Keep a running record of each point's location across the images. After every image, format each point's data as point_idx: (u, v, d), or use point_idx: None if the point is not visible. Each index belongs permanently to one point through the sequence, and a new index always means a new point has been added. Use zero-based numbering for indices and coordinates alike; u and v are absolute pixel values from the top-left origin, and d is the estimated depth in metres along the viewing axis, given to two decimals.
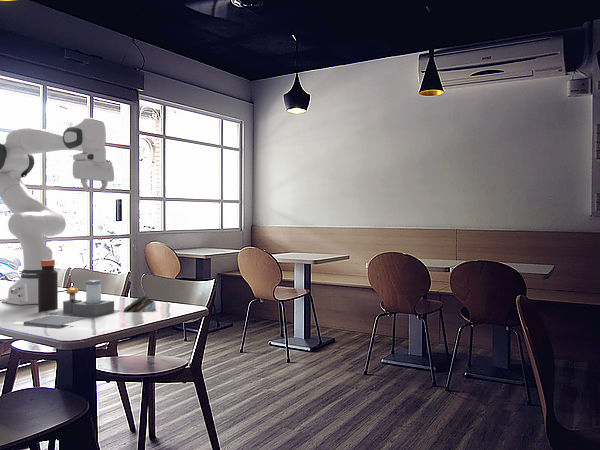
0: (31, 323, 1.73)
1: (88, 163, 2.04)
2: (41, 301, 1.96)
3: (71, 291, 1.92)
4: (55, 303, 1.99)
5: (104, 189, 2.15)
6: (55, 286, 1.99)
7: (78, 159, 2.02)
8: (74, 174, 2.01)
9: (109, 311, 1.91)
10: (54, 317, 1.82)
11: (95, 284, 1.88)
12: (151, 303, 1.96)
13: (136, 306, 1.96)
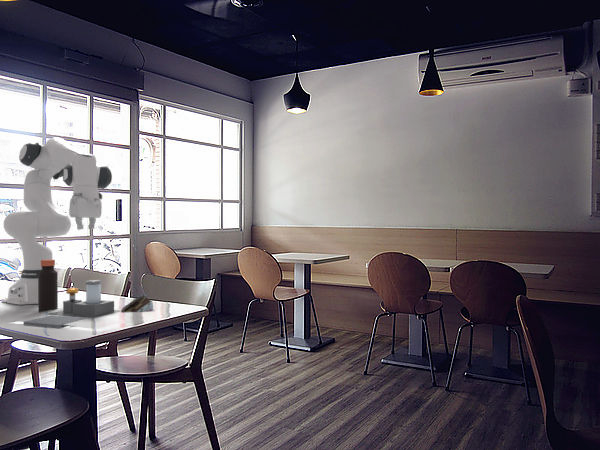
0: (31, 323, 1.73)
1: None
2: (41, 301, 1.96)
3: (71, 291, 1.92)
4: (55, 303, 1.99)
5: None
6: (55, 286, 1.99)
7: None
8: None
9: (109, 311, 1.91)
10: (54, 317, 1.82)
11: (95, 284, 1.88)
12: (149, 303, 1.97)
13: (133, 306, 1.96)
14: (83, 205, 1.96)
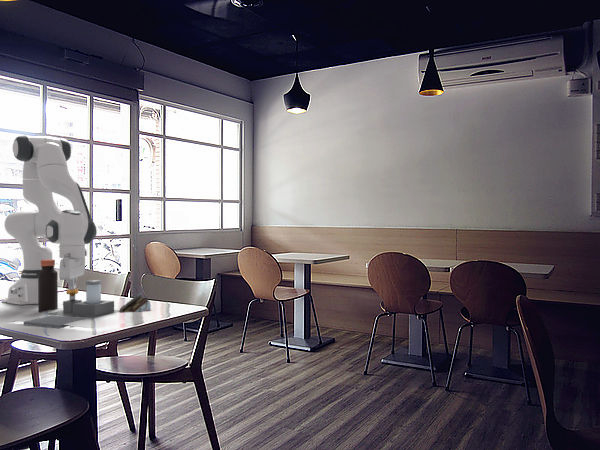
0: (31, 323, 1.73)
1: None
2: (41, 301, 1.96)
3: (71, 292, 1.92)
4: (55, 303, 1.99)
5: None
6: (55, 286, 1.99)
7: None
8: None
9: (109, 311, 1.91)
10: (54, 317, 1.82)
11: (95, 284, 1.88)
12: (146, 303, 1.97)
13: (131, 306, 1.96)
14: (72, 266, 1.89)
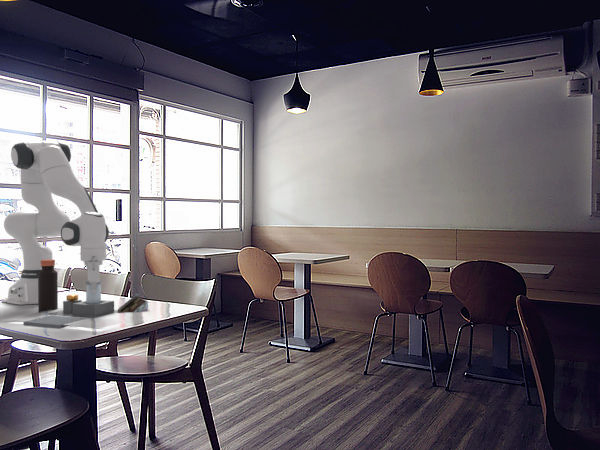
0: (31, 323, 1.73)
1: None
2: (41, 301, 1.96)
3: (71, 298, 1.92)
4: (55, 303, 1.99)
5: (91, 291, 1.87)
6: (55, 286, 1.99)
7: None
8: None
9: (109, 311, 1.91)
10: (54, 317, 1.82)
11: None
12: (144, 303, 1.97)
13: (129, 306, 1.96)
14: None
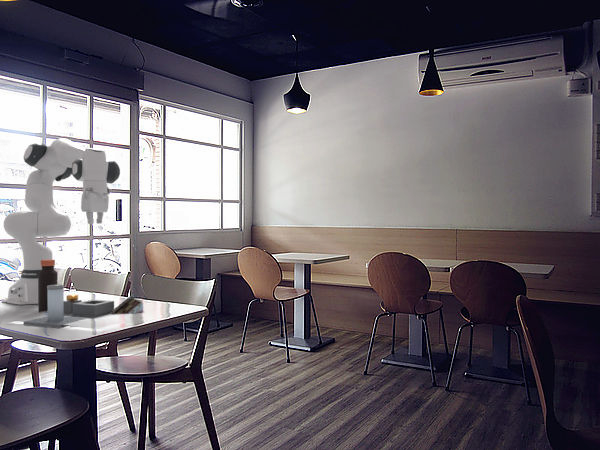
0: (31, 323, 1.73)
1: None
2: (41, 301, 1.96)
3: (71, 298, 1.92)
4: None
5: None
6: None
7: None
8: None
9: (109, 311, 1.91)
10: None
11: (54, 289, 1.75)
12: (139, 304, 1.94)
13: (123, 307, 1.93)
14: (94, 200, 1.98)
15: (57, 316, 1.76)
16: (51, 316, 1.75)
